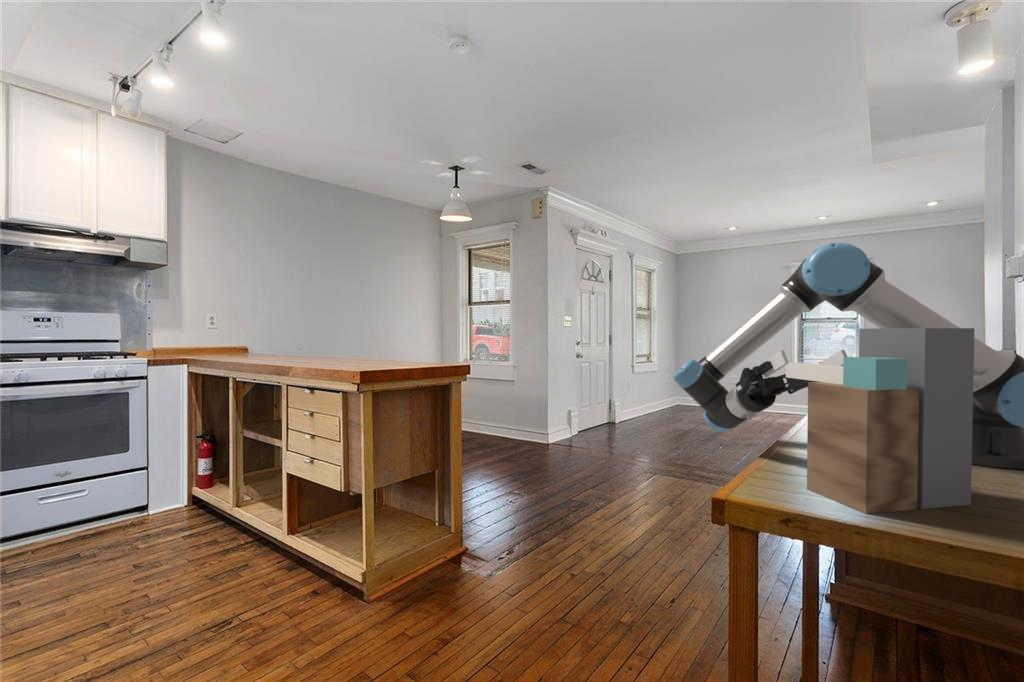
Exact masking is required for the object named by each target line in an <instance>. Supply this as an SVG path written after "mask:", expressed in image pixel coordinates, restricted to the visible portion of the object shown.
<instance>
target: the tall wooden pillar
mask: <svg viewBox="0 0 1024 682" xmlns="http://www.w3.org/2000/svg"><path fill="white" fill-rule="evenodd" d="M918 430H919V389H915V388H907V387H906V389H900V390H870V389H863V388H855V387H848V386H843V385H841V384H833V383H826V382H808V387H807V437H806V438H807V441H806V442H807V444H806V445H807V446H806V449H807V451H806V453H807V454H806V455H807V456H806V490H808V491H811V492H812V493H816V494H817V495H820V496H823V497H825V498H827V499H829V500H832V501H834V502H837V503H839V504H842V505H844V506H846V507H848V508H851V509H854V510H856V511H858V512H860V513H863V514H878V513H879V514H880V513H889V512H900V511H902V512H903V511H914V510H915V511H916V510H918V507H917V486H918Z"/></svg>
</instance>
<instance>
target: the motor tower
mask: <svg viewBox="0 0 1024 682" xmlns="http://www.w3.org/2000/svg"><path fill="white" fill-rule="evenodd" d="M858 329H859V330H858V335H859V336H858V357H884V358H901V359H907V386H906V387H907V388H915V389H919V430H918V486H917V509H918V508H919V509H921V510H926V509H937V508H938V509H939V508H950V507H951V508H952V507H962V506H971V505H972V473H973V472H972V467H973V465H972V426H973V376H974V337H975V328H974V327H972V328H971V327H959V328H879V327H877V328H858Z"/></svg>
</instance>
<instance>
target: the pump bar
mask: <svg viewBox="0 0 1024 682" xmlns="http://www.w3.org/2000/svg"><path fill="white" fill-rule="evenodd" d="M785 374H786V377H787V378H795V379H803V380H810V381H818V382H826V383H833V384H841V385H843V386H848V387H855V388H863V389H870V390H900V389H906V386H907V359H901V358H884V357H859V356H847V357H844V359H843V366H833V365H821V364H819V363H808V362H789V363H788V364H787V365H785Z"/></svg>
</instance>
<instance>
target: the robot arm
mask: <svg viewBox="0 0 1024 682" xmlns="http://www.w3.org/2000/svg"><path fill="white" fill-rule="evenodd" d="M885 274H886V273H885V270H884V269H883V268H881V267H879V266H878V265H877V264H875V263H873V262H872V261H871V260H870V259H869V257H868V255H867V254H866V252H865V251H864V250H862V249H861V248H859V247H858V246H856V245H853V244H850V243H848V242H834V243H833V242H832V243H828V244H825V245H822V246H819V247H818V248H816V249H814V250H813V251H812V252H811V253H809V254H808V256H807V257H806V258H805V259H804V260H803V261H802V262H801V263H800V264H799V266H798V267H797V268H796V269H795V270H794V272H793V273H792V274H791V275H790V276H789V277H788V278H787V279H786V280H785V282H783V283H782V284H781V285H780V286H779V292H778V293H776V294H775V295H774V296H773V297H772V298H770V299H769V301H767V302H766V303H764V305H762V306H761V307H760V308H759V309H758V310H757V311H755V312H754V313H753V314H752V315H751V316H750V317H749V318H747V319H746V320H745V321H744V322H743V323H741V325H739V326H738V327H737V328H736V329H734V330H733V331H732V332H731V333H730V334H729V335H727V336H726V338H724V339H723V340H722V341H720V343H718V345H716V346H715V347H714V348H713V349H711V350H710V351H709V352H708V353H707V354H705V355H704V356H703V358H701V359H700V360H699V361H697V360H696V359H694V358H690V359H688V360H687V362H685V363H684V364H683V365H682V366H681V367H679V369H678V370H676V371H675V372H674V373H673V375H672V379H673V381H675V383H676V384H678V387H680V388H681V389H682V390H683V391H684V392H686V394H688V396H689V397H690V398H691V399H692V400H694V401H695V402H696V404H698V405H699V407H701V408H702V410H703V420H704V421H705V423H706V425H707V426H708V427H709V428H710V429H711V430H713V431H716V432H726V431H729V430H731V429H734V428H736V427H737V426H740V424H742V423H744V422H745V421H747V420H752V417H754V416H756V415H758V414H759V413H760V412H763V411H764V410H766V409H768V408H770V407H772V406H773V405H774V404H775V401H776V400H777V399H776V398H777V396H780V395H782V394H783V393H785V392H787V393H788V394H789V395H790V394H791V395H792V394H795V393H796V392H798V391H800V390H803V389H806V388H808V382H818V381H810V380H803V379H795V378H787V377H786V373H784V374H780V375H778V376H771V375H773V374H775V373H776V372H778V371H780V370H781V369H782V368H784V367H786V365H787V364H788V363H790V362H789V360H788V357H787V355H786V352H785V350H779V351H777V352H776V353H775V354H773V355H772V356H771V357H769V358H768V359H766V360H765V361H764V362H762V363H761V364H760V365H755V366H754V367H752V368H751V369H750V367H744V368H743V369H742V370H741V371H742V372H741V373H740V374H741V375H740V377H739V381H738V382H737V383H735V387H734V388H732V389H730V391H728V390H727V389H726V388H725V386H723V385H722V384H721V382H720V381H721V380H723V378H725V376H727V375H728V374H729V373H730V372H732V371H733V370H734V369H735V368H736V367H737V366H739V365H740V364H742V363H743V362H744V361H745V360H747V359H748V358H749V357H750V356H751V355H752V354H754V353H755V352H756V351H758V349H760V348H761V347H762V346H764V345H765V344H766V343H767V342H768V341H769V340H771V339H772V338H773V337H775V336H776V335H777V334H778V333H779V332H780V331H782V330H783V329H784V328H786V326H788V325H789V324H790V323H792V321H794V320H795V319H797V318H798V317H799V316H800V315H801V314H802V313H810V312H811V311H812V310H814V309H815V308H817V307H818V306H819V305H821V304H822V303H824V302H827V303H829V304H830V305H831V306H833V307H835V308H836V309H837V310H839V311H840V312H855V313H856V314H858V315H859V316H861V317H862V318H864V319H865V320H866V321H868V322H870V323H871V324H873V325H874V326H876V327H877V328H960V326H958V325H956V324H954V323H953V322H951V321H950V320H949V319H946V318H945V317H943V316H942V315H940V314H939V313H937V312H936V311H934V310H933V309H931V308H930V307H928V306H926V305H924V304H923V303H921V302H920V301H919V300H917V299H915V298H914V297H912V296H910V295H909V294H907V293H906V292H904V291H902V290H901V289H899V288H898V287H897V286H895V285H893V284H892V283H890V282H888V281H887V280H886V275H885ZM844 357H848V354H847V352H846V350H845V349H840V350H839V351H837V352H835V353H834V354H832V355H830V356H828V357H827V358H825V359H824V360H822V361H819V362H818V364H821V365H833V366H843V359H844ZM784 379H785V380H786V382H785V380H784ZM972 464H974V465H978V466H985V467H992V468H999V469H1000V468H1001V469H1009V470H1011V469H1013V470H1024V357H1023V356H1021V355H1019V354H1018V353H1016V352H1015V351H1013V350H1010V349H1009V350H1008V349H1005V350H995V349H994V348H992V347H991V346H989V345H987V344H986V343H984V341H981V340H980V339H978V338H977V337H975V336H974V376H973V426H972Z"/></svg>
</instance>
